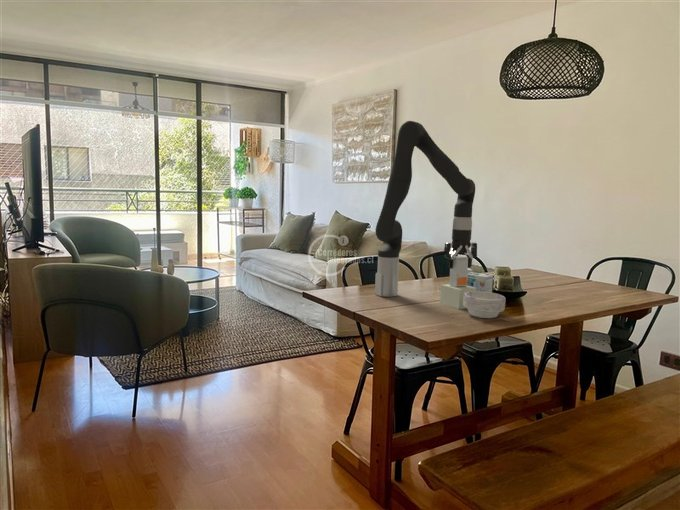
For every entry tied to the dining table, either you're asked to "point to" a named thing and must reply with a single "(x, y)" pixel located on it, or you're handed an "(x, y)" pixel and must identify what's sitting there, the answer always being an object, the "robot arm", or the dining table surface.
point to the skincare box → (459, 271)
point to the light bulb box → (480, 281)
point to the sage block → (454, 295)
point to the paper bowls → (484, 304)
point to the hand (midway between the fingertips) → (459, 268)
